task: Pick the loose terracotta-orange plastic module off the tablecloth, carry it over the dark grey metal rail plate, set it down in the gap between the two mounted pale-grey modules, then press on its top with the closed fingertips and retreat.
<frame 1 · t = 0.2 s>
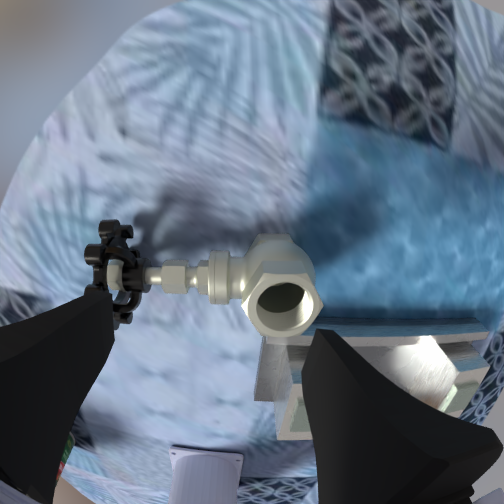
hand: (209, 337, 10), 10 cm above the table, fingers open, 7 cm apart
rail plate: (377, 359, 23), on the table
valve: (213, 255, 20), on the table
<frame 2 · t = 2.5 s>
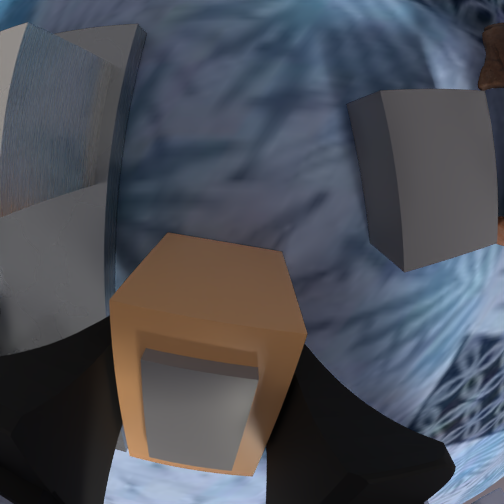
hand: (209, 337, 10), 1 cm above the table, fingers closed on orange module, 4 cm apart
orange module: (213, 316, 11), on the table, touching gripper
rail plate: (38, 277, 11), on the table
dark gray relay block: (406, 166, 10), on the table
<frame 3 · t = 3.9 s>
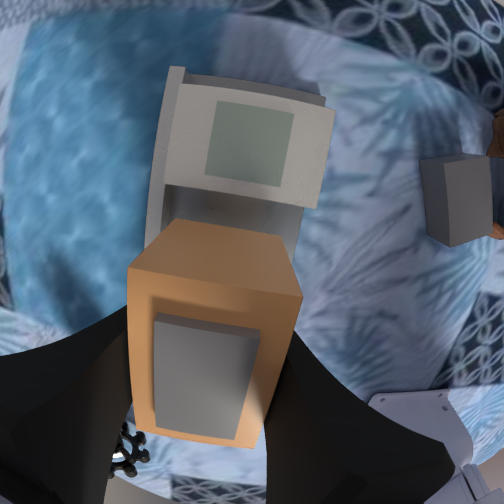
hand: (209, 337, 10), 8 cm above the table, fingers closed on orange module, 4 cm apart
orange module: (216, 297, 12), point 6 cm above the table, touching gripper
rail plate: (221, 255, 18), on the table
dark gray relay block: (445, 192, 17), on the table
valve: (113, 384, 22), on the table
when the fingers open (4 cm above the table, at t = 5.2 s): orange module stays where it is, resting on rail plate.
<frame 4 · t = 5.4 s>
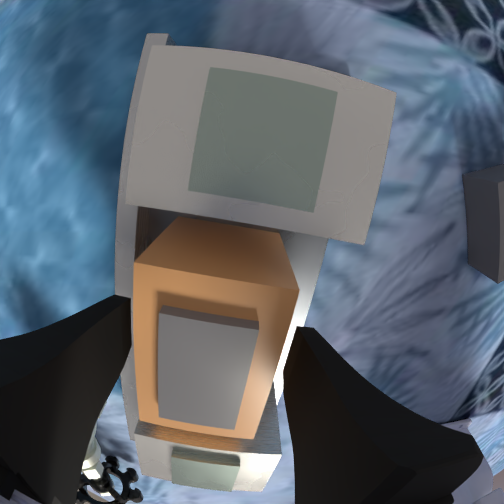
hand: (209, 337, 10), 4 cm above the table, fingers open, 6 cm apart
orange module: (217, 293, 13), point 1 cm above the table, touching rail plate
rail plate: (218, 288, 14), on the table
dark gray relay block: (487, 211, 13), on the table
valve: (97, 419, 18), on the table
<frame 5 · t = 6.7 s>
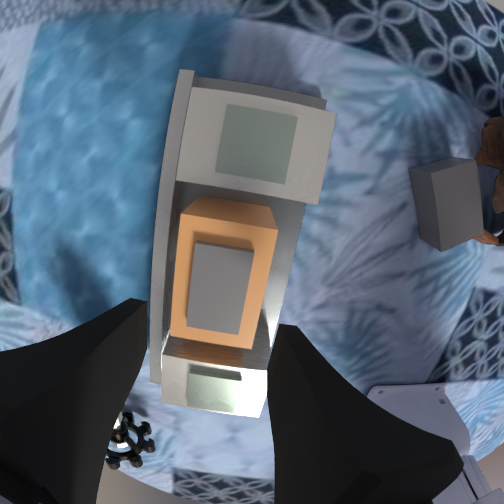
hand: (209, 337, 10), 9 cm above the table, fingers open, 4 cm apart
orange module: (226, 251, 18), point 1 cm above the table, touching rail plate
rail plate: (226, 249, 19), on the table
knobbed brown ring: (497, 185, 18), on the table
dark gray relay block: (435, 197, 18), on the table
valve: (119, 373, 23), on the table
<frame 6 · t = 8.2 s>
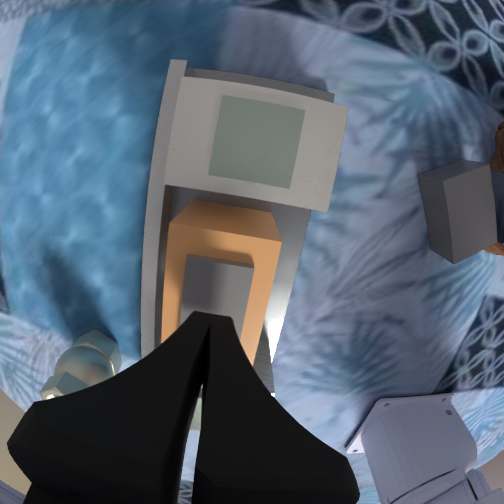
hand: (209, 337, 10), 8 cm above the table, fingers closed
orange module: (223, 260, 16), point 1 cm above the table, touching rail plate
rail plate: (223, 258, 17), on the table
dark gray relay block: (446, 203, 16), on the table
valve: (111, 384, 21), on the table
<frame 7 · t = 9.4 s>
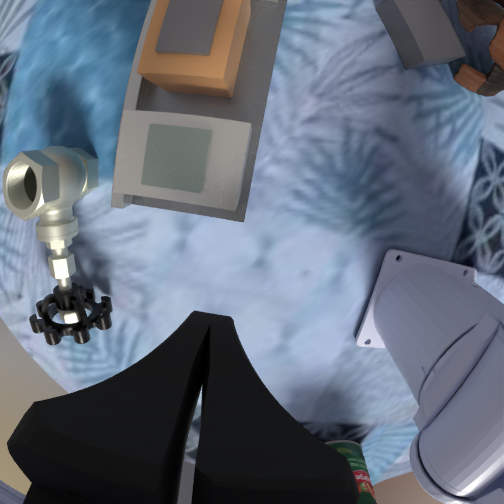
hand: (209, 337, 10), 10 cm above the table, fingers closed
orange module: (208, 49, 15), point 1 cm above the table, touching rail plate
rail plate: (209, 57, 16), on the table
canned tomato: (328, 456, 28), on the table
knobbed brown ring: (476, 48, 15), on the table
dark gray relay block: (411, 36, 15), on the table
valve: (83, 226, 20), on the table
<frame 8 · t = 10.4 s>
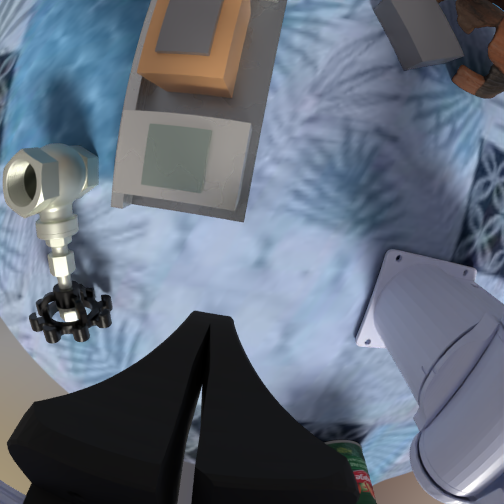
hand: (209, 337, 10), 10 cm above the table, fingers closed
orange module: (208, 49, 15), point 1 cm above the table, touching rail plate
rail plate: (209, 57, 16), on the table
canned tomato: (328, 456, 28), on the table
knobbed brown ring: (475, 49, 15), on the table
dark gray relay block: (409, 36, 15), on the table
valve: (84, 224, 20), on the table
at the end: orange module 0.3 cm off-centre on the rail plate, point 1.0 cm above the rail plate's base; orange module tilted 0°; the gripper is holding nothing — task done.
